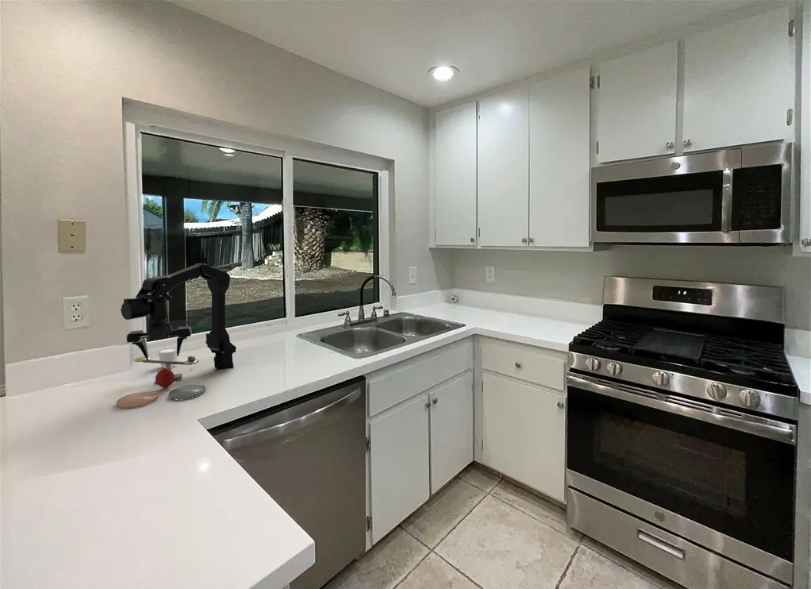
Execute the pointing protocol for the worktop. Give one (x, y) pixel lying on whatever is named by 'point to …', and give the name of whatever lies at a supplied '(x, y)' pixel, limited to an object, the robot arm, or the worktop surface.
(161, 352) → the white cylinder
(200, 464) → the worktop surface
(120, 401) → the terracotta dish
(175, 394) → the slate dish
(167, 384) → the onion
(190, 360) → the balance
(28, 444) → the worktop surface
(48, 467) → the worktop surface
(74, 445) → the worktop surface
